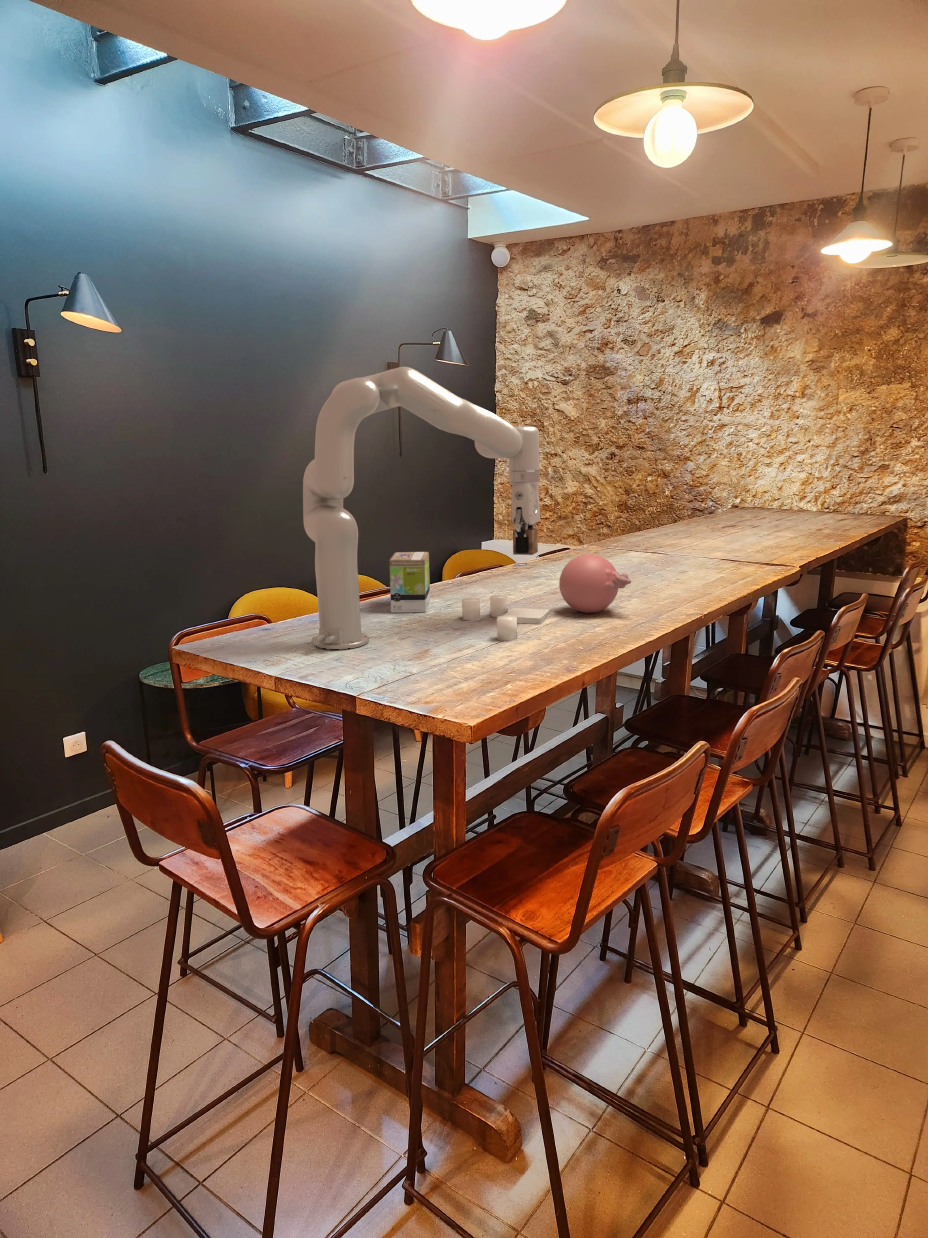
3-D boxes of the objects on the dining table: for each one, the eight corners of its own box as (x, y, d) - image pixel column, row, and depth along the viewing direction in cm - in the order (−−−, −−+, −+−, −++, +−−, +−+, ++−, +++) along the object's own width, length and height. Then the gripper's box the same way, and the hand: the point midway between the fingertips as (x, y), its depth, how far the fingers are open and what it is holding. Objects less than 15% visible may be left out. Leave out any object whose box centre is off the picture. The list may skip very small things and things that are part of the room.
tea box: (427, 612, 213) (425, 558, 209) (390, 613, 213) (387, 559, 210) (430, 601, 227) (428, 550, 224) (396, 602, 228) (393, 551, 224)
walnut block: (532, 554, 196) (532, 530, 194) (513, 554, 197) (512, 530, 196) (537, 551, 200) (537, 528, 199) (518, 551, 202) (518, 528, 200)
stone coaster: (540, 624, 196) (540, 618, 196) (502, 622, 200) (501, 616, 200) (550, 615, 206) (550, 609, 205) (513, 613, 209) (513, 607, 209)
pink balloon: (611, 624, 194) (612, 562, 191) (547, 613, 208) (547, 555, 204) (645, 613, 205) (646, 554, 201) (582, 603, 219) (582, 548, 215)
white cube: (476, 621, 202) (476, 601, 201) (459, 620, 203) (459, 601, 202) (482, 617, 206) (482, 598, 205) (465, 616, 208) (465, 597, 207)
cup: (513, 641, 181) (513, 620, 180) (494, 640, 183) (494, 619, 182) (519, 636, 185) (519, 615, 184) (500, 635, 187) (500, 614, 186)
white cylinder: (504, 617, 204) (504, 599, 203) (488, 617, 206) (487, 598, 205) (510, 614, 209) (509, 595, 207) (493, 613, 210) (493, 594, 209)
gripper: (529, 480, 185) (530, 556, 190) (547, 475, 201) (548, 546, 205) (499, 480, 188) (500, 556, 192) (519, 475, 203) (520, 546, 208)
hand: (525, 550), depth 199 cm, fingers closed on walnut block, 5 cm apart
